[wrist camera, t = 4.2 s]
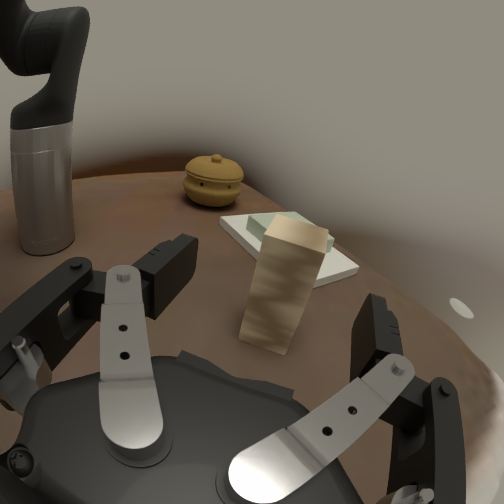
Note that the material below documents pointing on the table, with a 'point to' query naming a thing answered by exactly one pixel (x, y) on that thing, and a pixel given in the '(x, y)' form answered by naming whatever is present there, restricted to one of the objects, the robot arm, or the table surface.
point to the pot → (213, 180)
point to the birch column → (282, 282)
